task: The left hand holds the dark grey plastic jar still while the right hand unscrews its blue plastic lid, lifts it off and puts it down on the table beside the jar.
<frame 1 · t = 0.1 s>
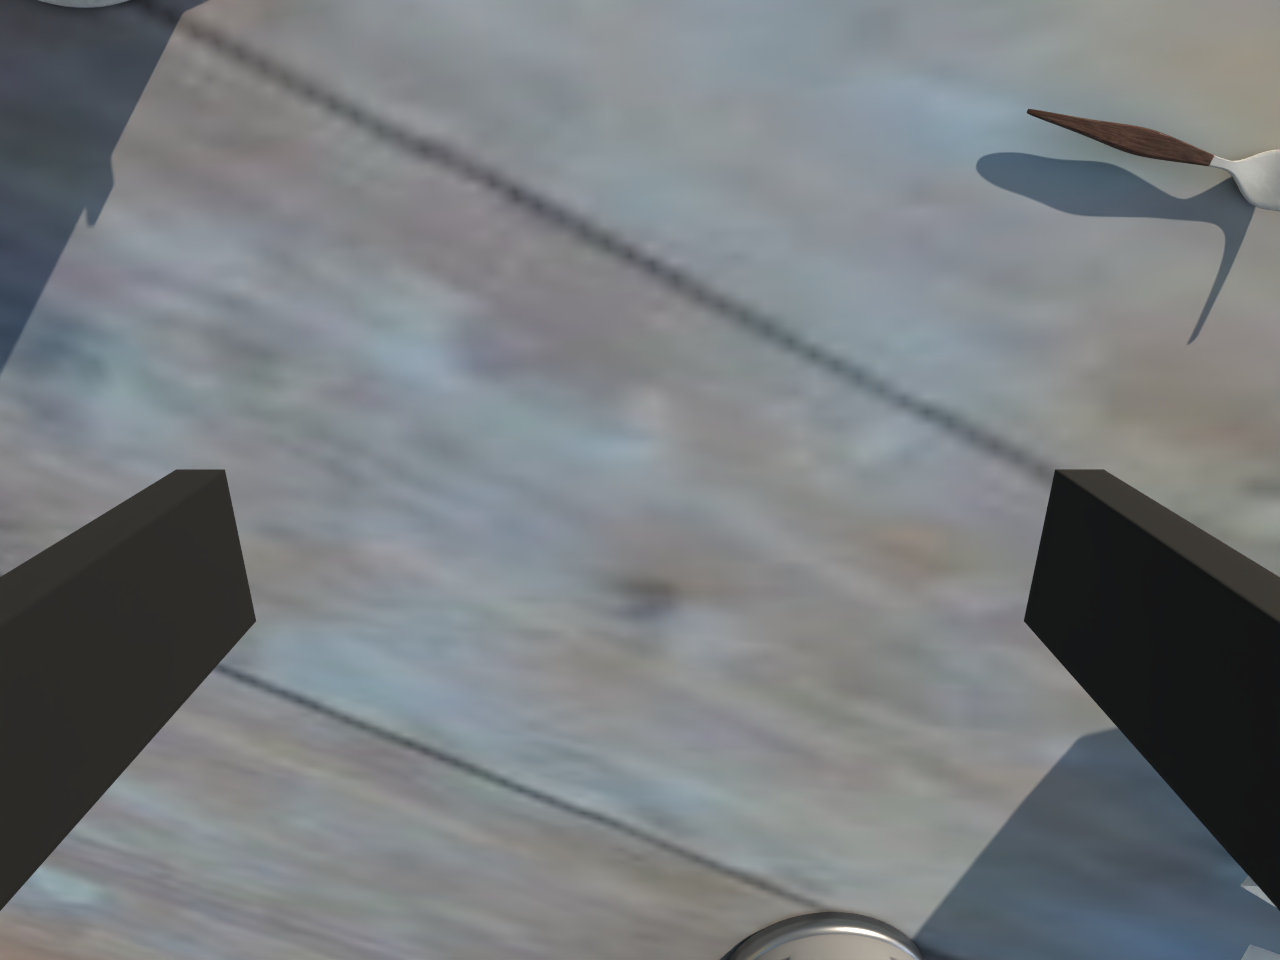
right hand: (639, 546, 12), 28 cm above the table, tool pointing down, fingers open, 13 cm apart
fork: (1178, 155, 36), on the table
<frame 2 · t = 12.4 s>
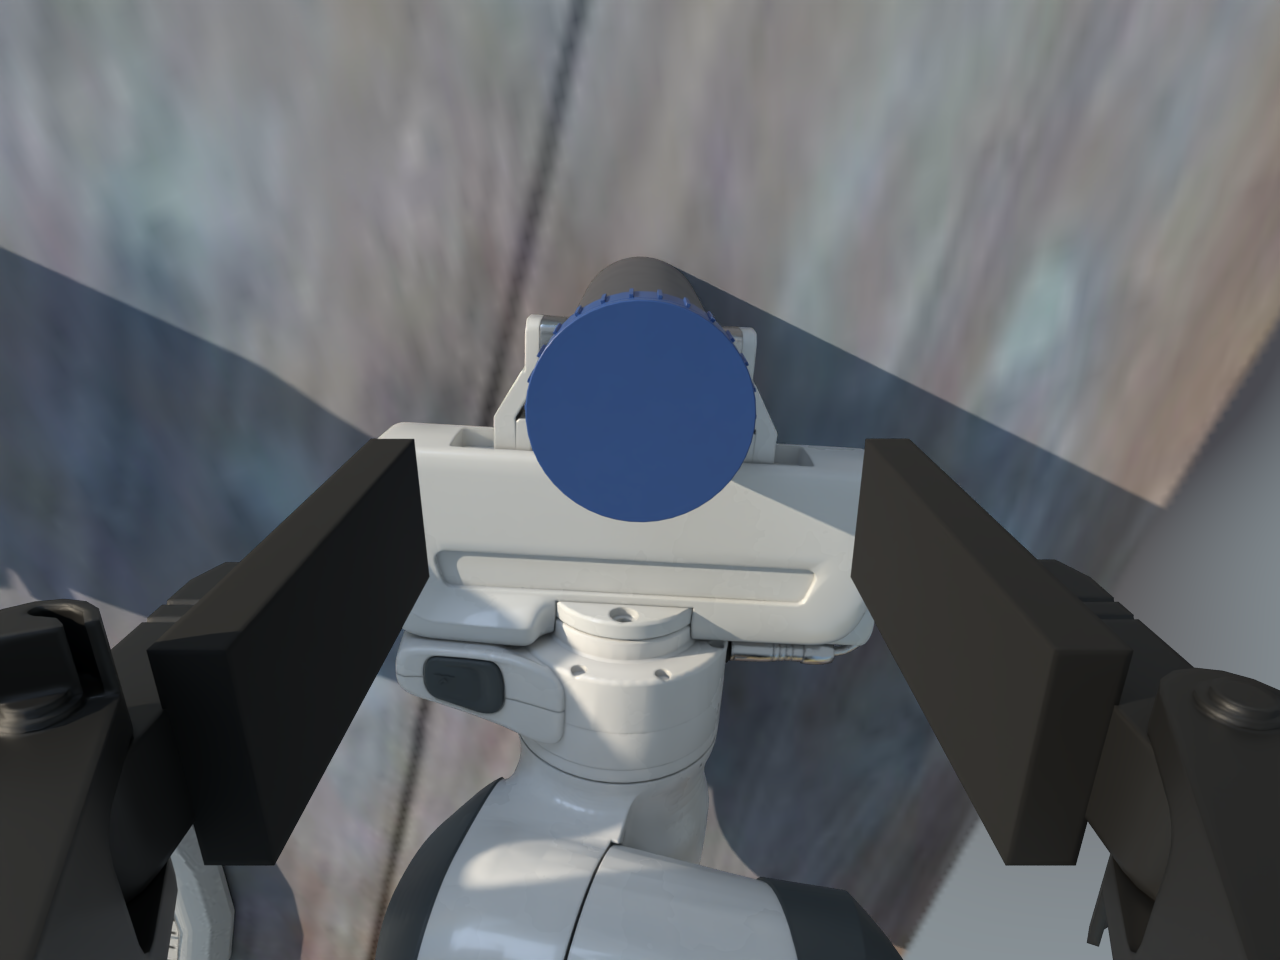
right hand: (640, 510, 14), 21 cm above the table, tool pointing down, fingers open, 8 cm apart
left hand: (640, 322, 27), fingers closed on jar, 5 cm apart
lid: (640, 413, 20), point 15 cm above the table, screwed on, not yet turned
jar: (640, 319, 34), on the table, touching left hand
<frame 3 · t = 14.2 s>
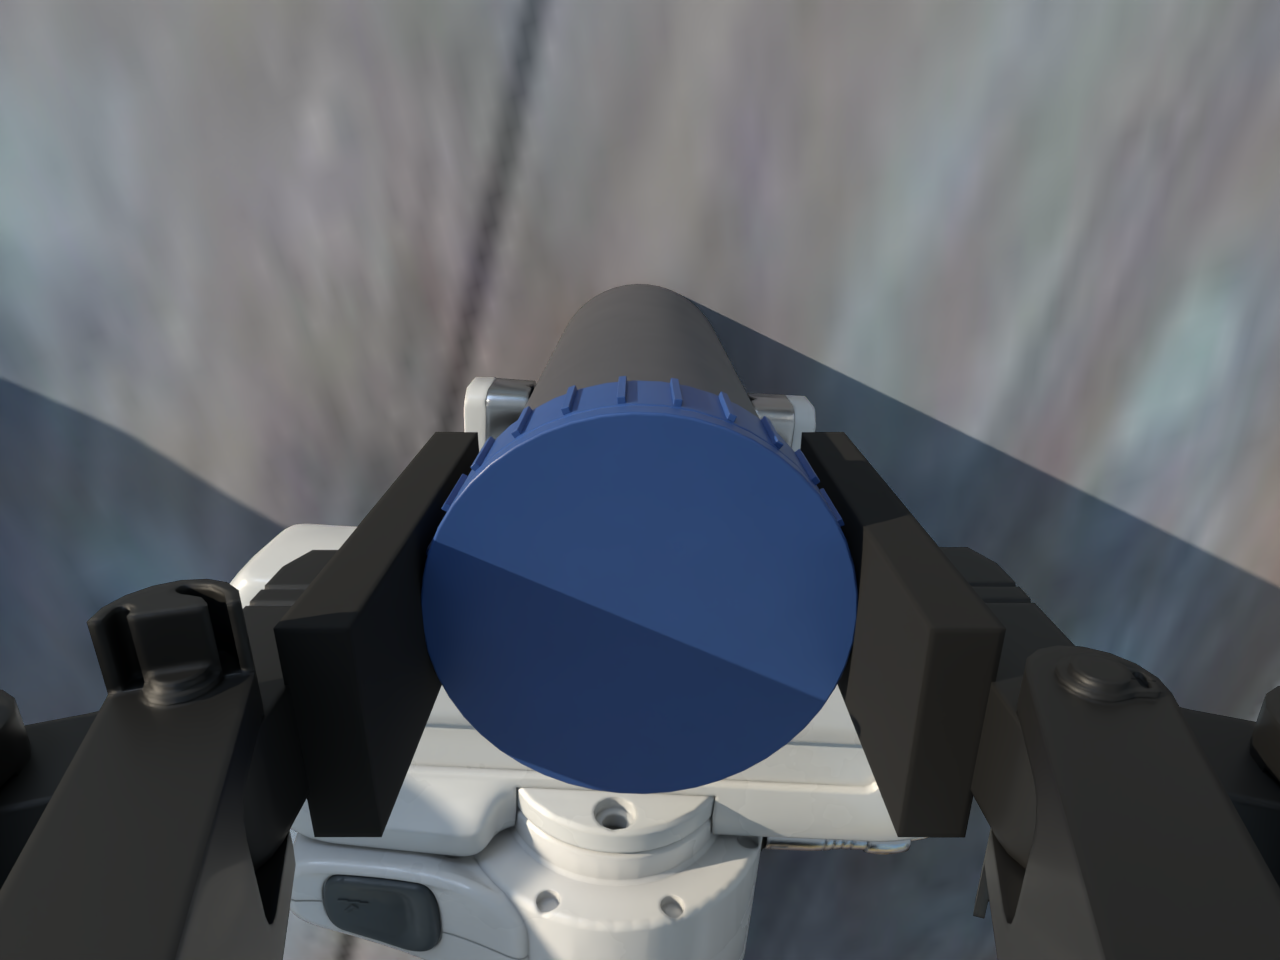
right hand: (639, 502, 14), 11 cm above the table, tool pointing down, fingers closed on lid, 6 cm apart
lid: (639, 609, 11), point 15 cm above the table, screwed on, not yet turned, touching right hand
jar: (639, 368, 24), on the table, touching left hand
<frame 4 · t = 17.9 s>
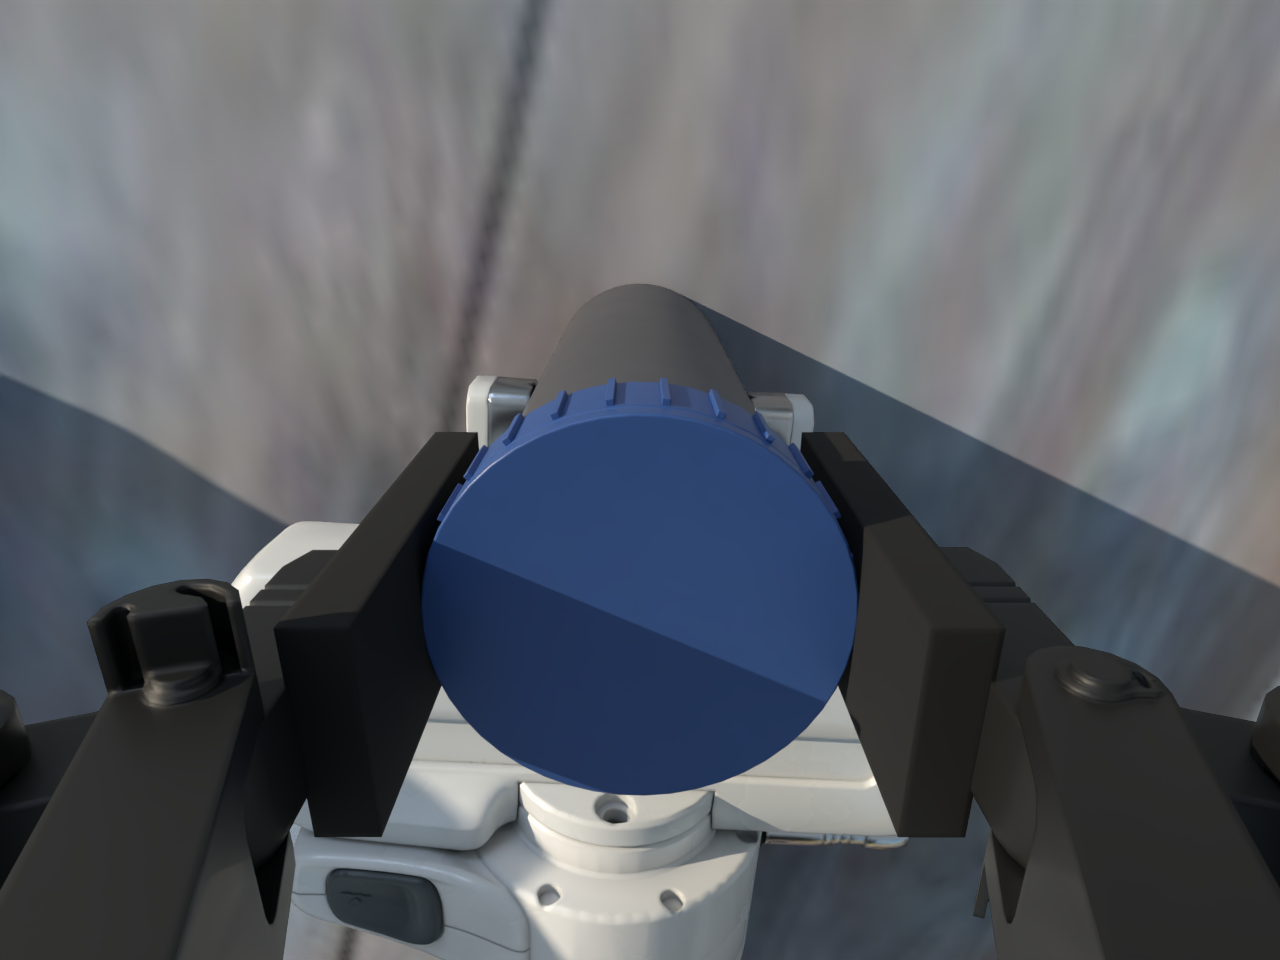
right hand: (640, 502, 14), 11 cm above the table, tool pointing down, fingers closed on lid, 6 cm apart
lid: (639, 611, 11), point 15 cm above the table, turned 128° so far, risen 0.2 cm, still on its thread, touching right hand
jar: (639, 367, 25), on the table, touching left hand
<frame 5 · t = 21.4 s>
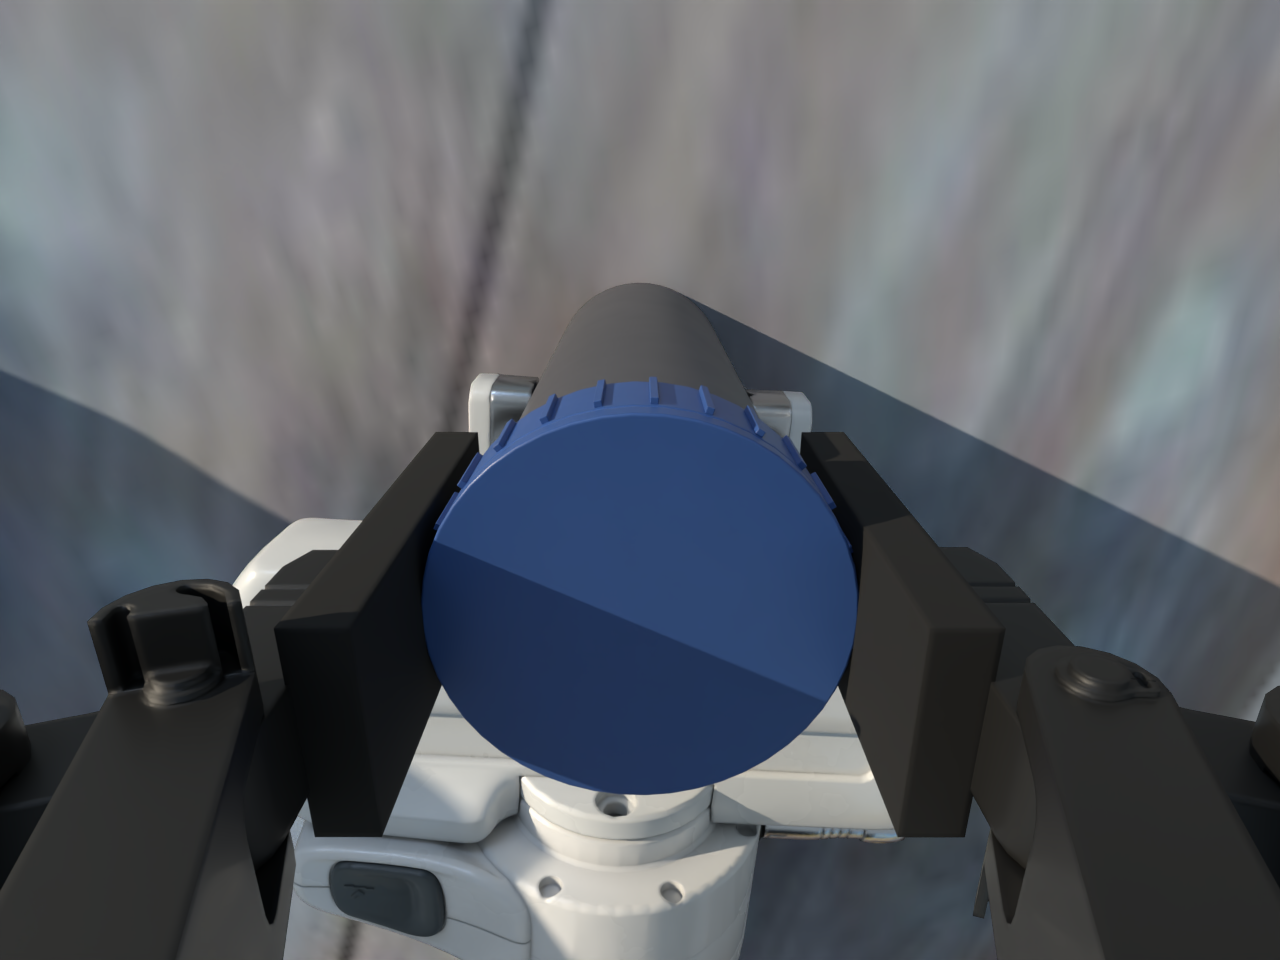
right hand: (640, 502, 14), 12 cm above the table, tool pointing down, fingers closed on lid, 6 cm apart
lid: (640, 610, 11), point 15 cm above the table, turned 255° so far, risen 0.4 cm, still on its thread, touching right hand
jar: (639, 366, 25), on the table, touching left hand
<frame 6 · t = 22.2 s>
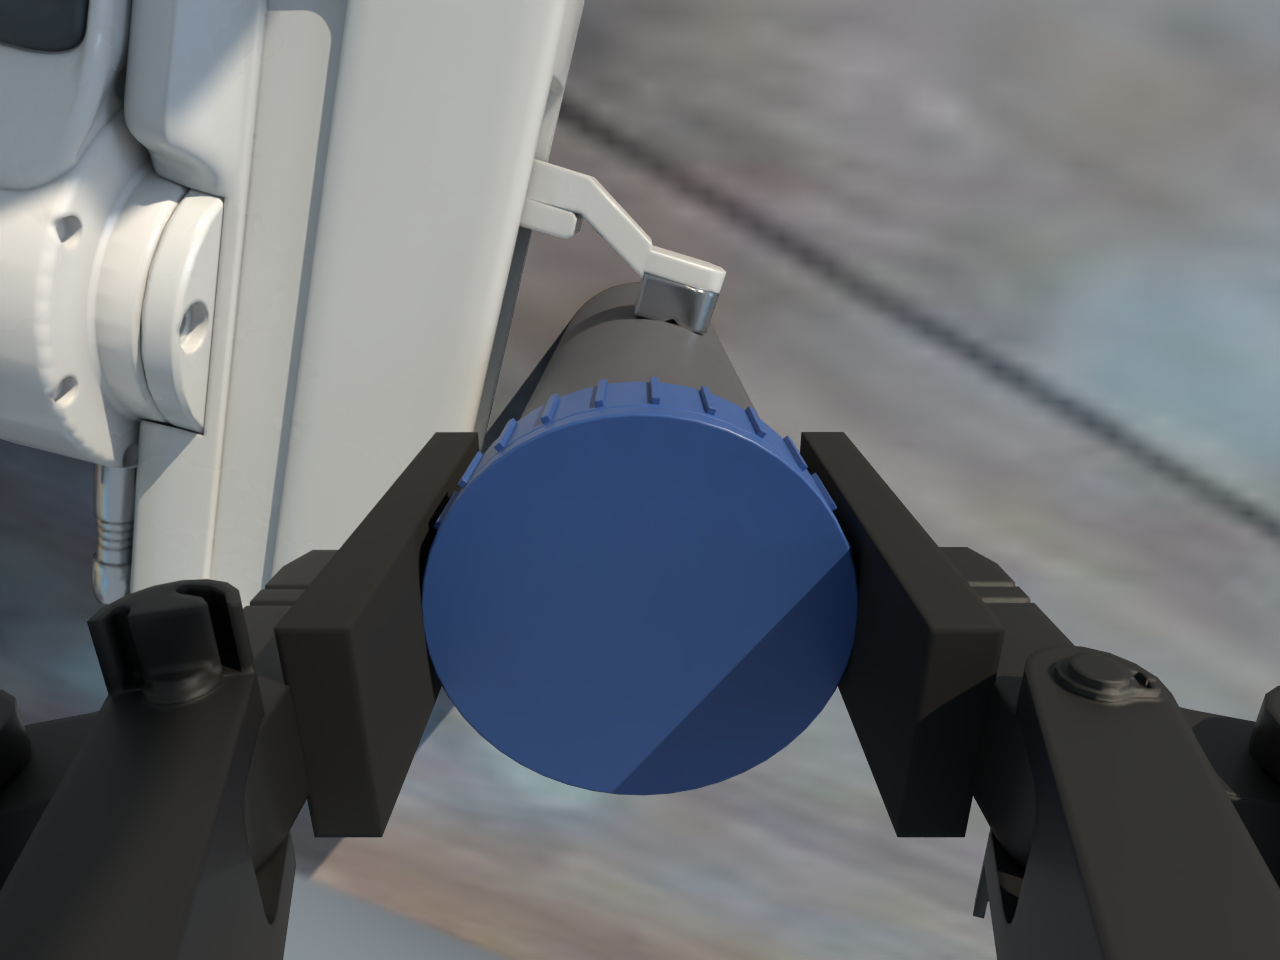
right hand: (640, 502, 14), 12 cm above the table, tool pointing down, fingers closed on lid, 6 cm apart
left hand: (674, 427, 19), fingers closed on jar, 5 cm apart
lid: (639, 610, 11), point 16 cm above the table, turned 358° so far, risen 0.6 cm, still on its thread, touching right hand
jar: (639, 365, 25), on the table, touching left hand
when the right hand's fingers open (0 cm above the table, at t = 27.9 s): lid drops 3 cm, point 1 cm above the table.
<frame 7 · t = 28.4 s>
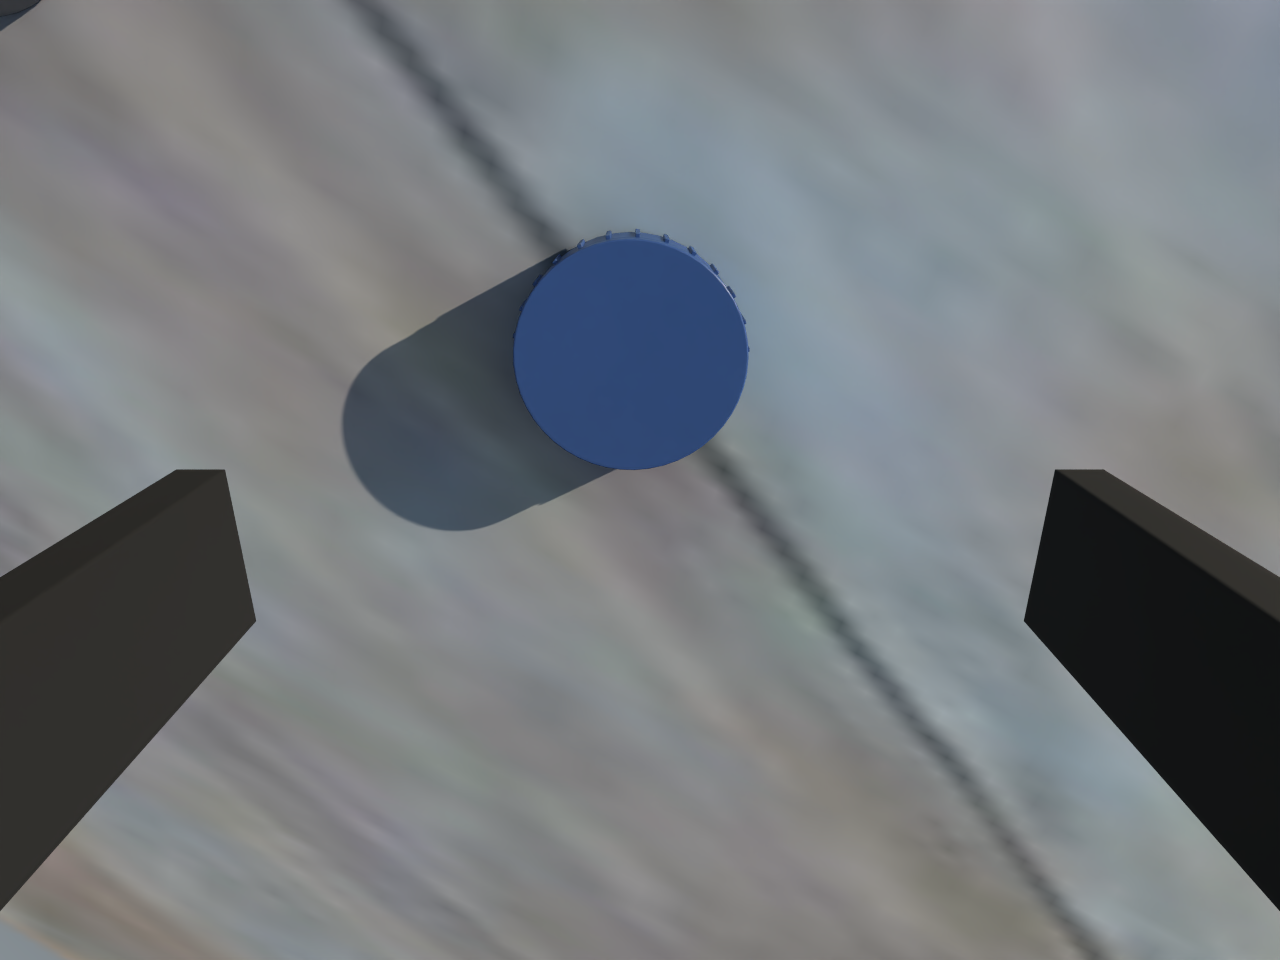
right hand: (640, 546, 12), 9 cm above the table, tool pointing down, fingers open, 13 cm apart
lid: (630, 358, 19), point 1 cm above the table, off its thread
when the left hand's fingers open (6 cm above the table, at t = 28.6 s): jar stays where it is, on the table.
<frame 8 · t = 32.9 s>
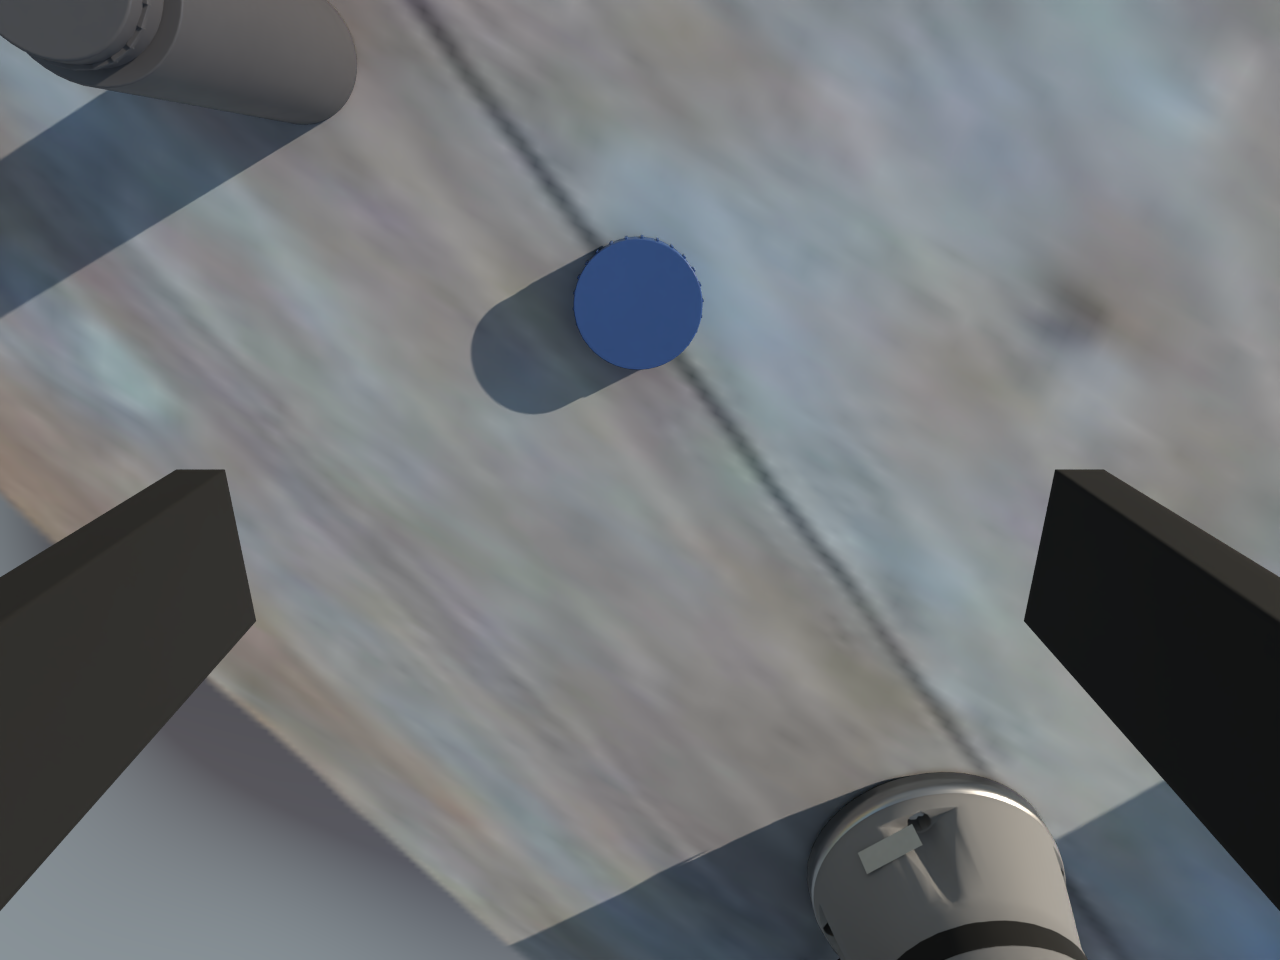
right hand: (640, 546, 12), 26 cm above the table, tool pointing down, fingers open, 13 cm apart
lid: (638, 305, 35), point 1 cm above the table, off its thread
jar: (294, 56, 33), on the table
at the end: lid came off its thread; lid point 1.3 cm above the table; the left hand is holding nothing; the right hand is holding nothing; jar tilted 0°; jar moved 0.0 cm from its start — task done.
